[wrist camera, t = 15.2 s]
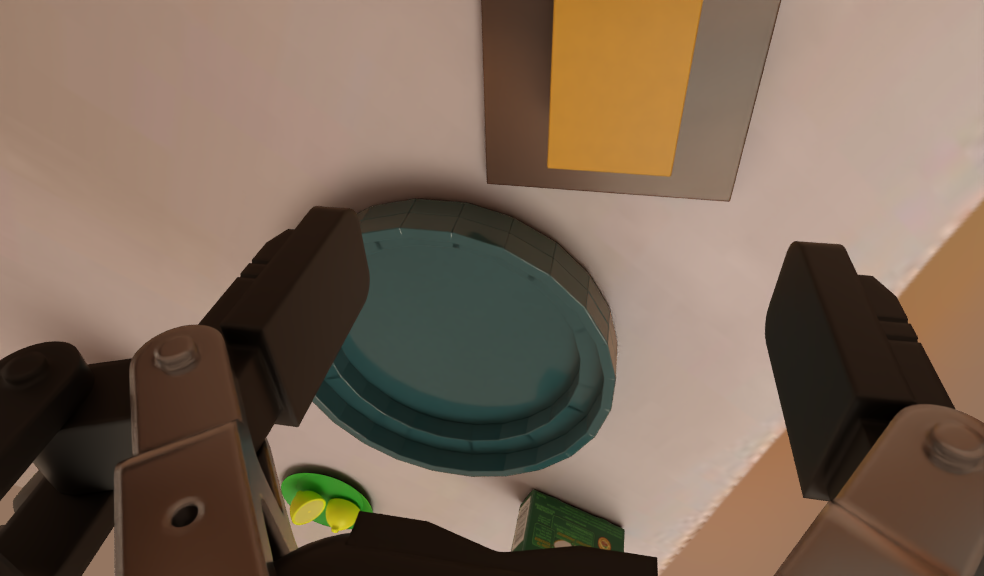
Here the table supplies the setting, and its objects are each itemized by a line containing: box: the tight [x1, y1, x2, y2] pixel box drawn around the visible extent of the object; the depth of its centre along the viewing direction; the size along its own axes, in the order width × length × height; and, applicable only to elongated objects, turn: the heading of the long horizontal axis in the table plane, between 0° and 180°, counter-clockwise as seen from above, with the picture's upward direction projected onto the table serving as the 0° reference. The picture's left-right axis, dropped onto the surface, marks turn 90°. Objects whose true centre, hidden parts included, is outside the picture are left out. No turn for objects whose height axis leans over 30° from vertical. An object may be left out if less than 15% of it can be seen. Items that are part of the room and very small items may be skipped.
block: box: [547, 0, 703, 177], centre depth 22 cm, size 8×5×4 cm, turn 2°
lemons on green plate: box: [281, 473, 373, 533], centre depth 50 cm, size 8×8×3 cm
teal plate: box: [312, 199, 617, 477], centre depth 35 cm, size 19×19×3 cm
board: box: [481, 0, 781, 202], centre depth 24 cm, size 14×11×1 cm
